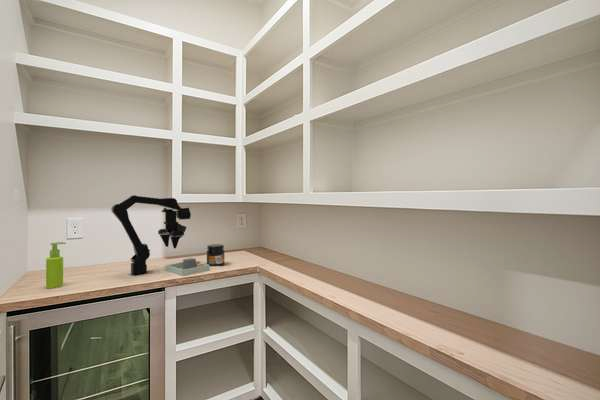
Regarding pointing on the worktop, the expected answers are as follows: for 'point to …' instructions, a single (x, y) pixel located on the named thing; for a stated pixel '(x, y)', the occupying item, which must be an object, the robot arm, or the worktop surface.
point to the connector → (189, 263)
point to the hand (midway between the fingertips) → (170, 247)
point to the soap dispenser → (54, 267)
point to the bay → (178, 269)
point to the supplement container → (215, 255)
